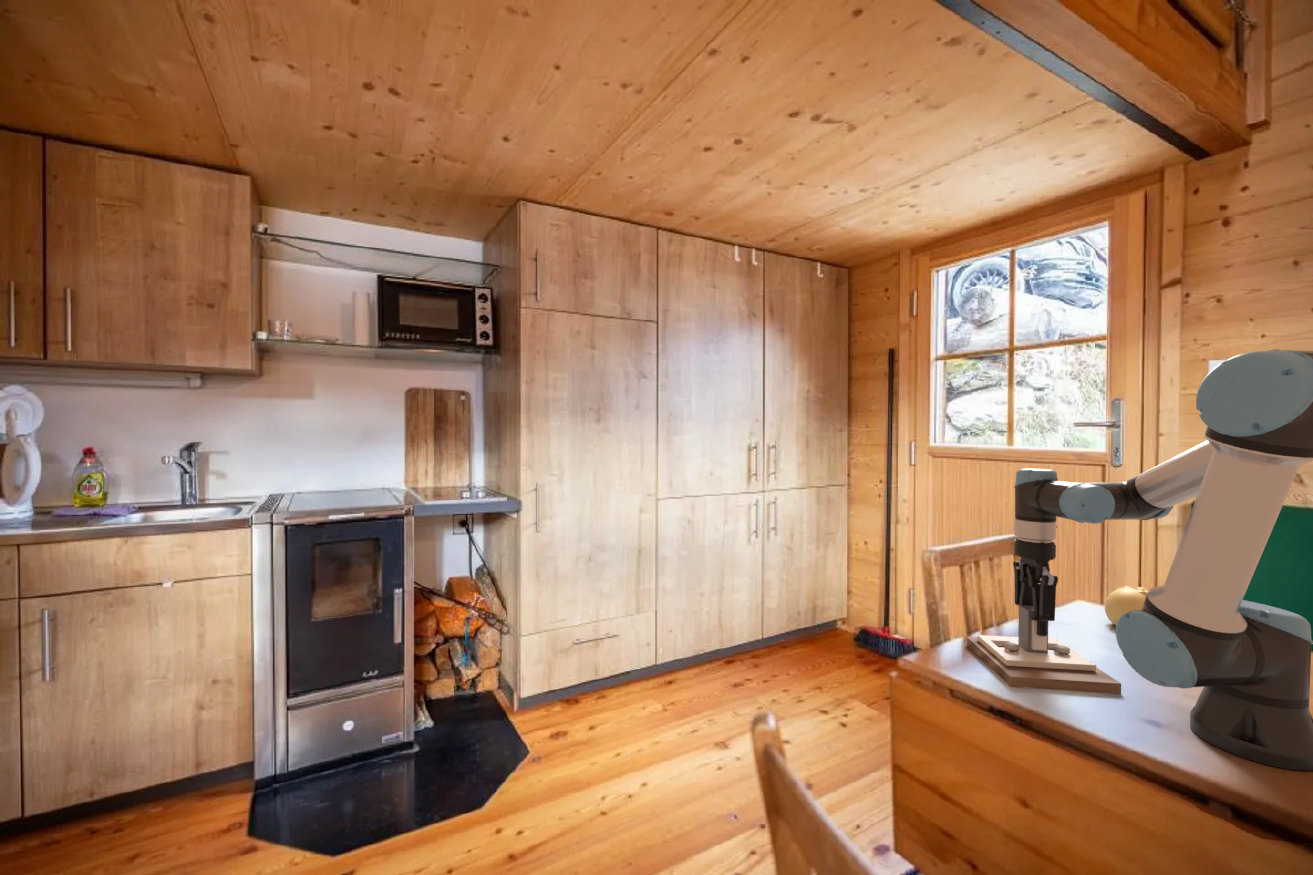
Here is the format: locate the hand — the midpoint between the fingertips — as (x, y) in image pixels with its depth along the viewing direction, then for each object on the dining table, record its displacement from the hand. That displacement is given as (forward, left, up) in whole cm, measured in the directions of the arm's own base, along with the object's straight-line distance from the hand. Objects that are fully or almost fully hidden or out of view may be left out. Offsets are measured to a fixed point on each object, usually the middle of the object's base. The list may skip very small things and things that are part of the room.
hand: (1033, 644), depth 121 cm
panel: (0, 0, -2) cm, 2 cm away
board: (-1, 0, -4) cm, 5 cm away
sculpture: (+28, -38, -5) cm, 47 cm away
